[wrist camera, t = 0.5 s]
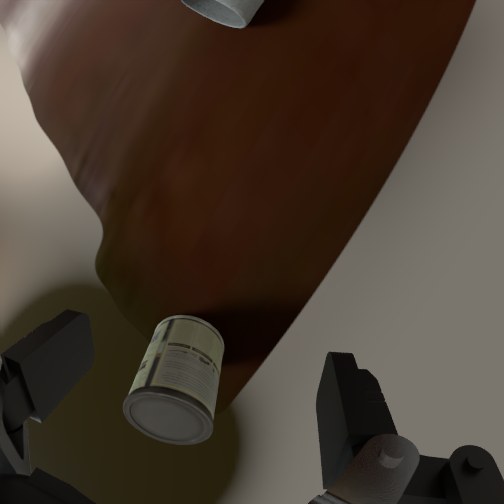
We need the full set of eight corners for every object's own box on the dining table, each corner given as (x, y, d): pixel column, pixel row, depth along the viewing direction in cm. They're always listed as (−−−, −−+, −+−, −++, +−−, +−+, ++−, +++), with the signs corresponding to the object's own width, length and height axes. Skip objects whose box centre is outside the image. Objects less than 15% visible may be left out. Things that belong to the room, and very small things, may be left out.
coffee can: (218, 374, 45) (206, 452, 32) (152, 358, 45) (124, 431, 32) (232, 324, 41) (220, 408, 28) (156, 305, 40) (120, 381, 28)
